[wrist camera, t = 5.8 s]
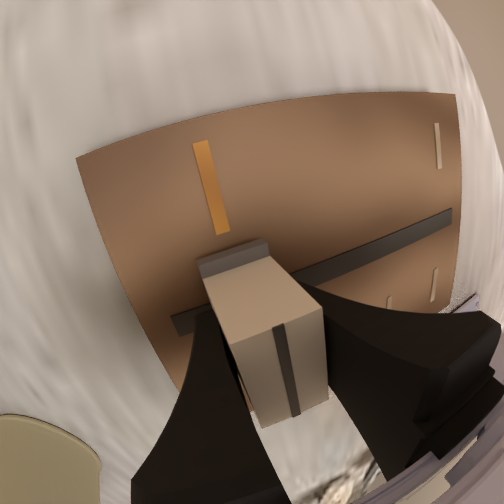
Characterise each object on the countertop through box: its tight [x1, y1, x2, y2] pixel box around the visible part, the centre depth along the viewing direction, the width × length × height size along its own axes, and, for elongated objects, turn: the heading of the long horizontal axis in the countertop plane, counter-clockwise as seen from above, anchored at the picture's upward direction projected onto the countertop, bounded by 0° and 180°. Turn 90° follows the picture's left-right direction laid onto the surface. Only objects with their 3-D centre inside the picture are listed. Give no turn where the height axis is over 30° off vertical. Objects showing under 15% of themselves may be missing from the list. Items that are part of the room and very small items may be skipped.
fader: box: [196, 238, 329, 429], centre depth 9 cm, size 5×2×4 cm, turn 12°
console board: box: [76, 92, 462, 412], centre depth 13 cm, size 14×18×2 cm
